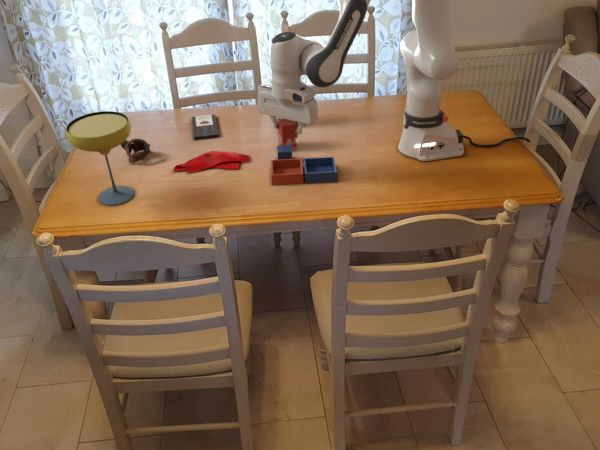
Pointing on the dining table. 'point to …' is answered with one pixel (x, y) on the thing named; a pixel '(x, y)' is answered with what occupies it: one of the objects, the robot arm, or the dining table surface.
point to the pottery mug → (136, 149)
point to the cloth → (213, 161)
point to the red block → (287, 129)
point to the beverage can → (285, 142)
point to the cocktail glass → (102, 144)
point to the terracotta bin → (286, 171)
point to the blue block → (284, 152)
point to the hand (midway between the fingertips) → (287, 130)
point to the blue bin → (320, 170)
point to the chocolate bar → (205, 127)
